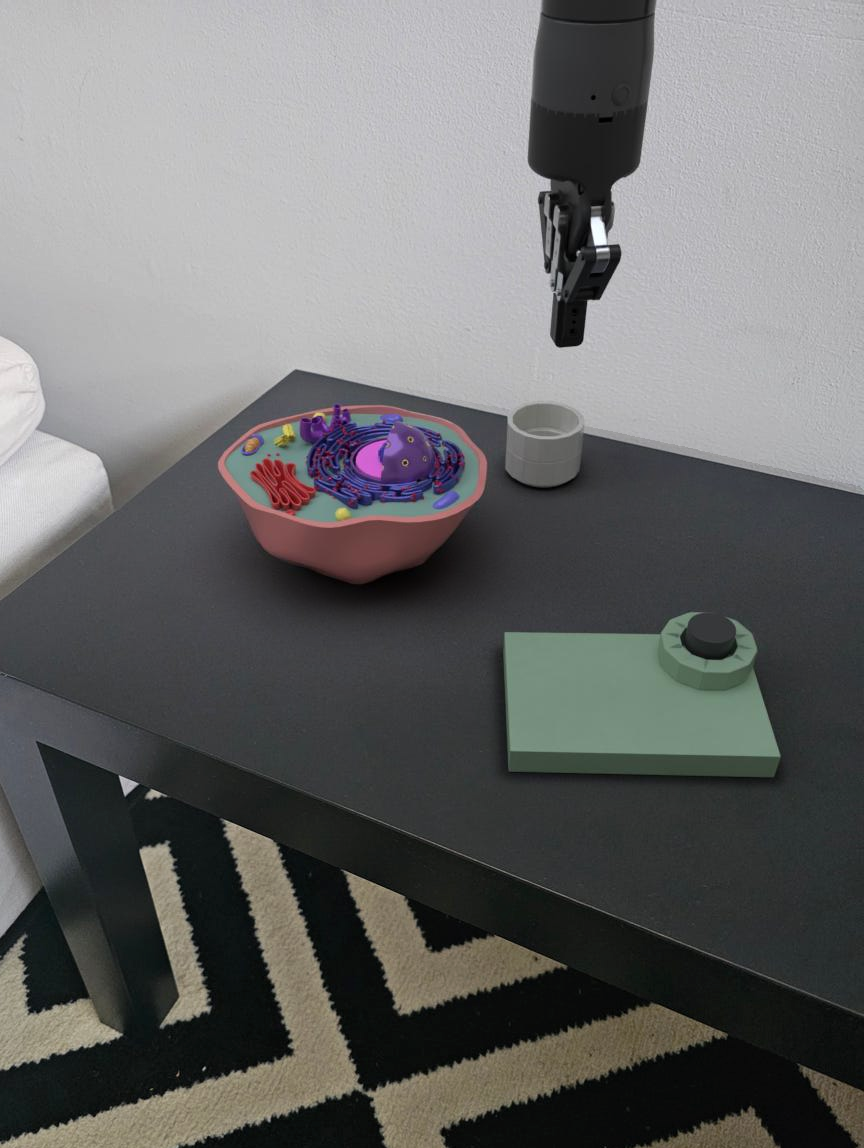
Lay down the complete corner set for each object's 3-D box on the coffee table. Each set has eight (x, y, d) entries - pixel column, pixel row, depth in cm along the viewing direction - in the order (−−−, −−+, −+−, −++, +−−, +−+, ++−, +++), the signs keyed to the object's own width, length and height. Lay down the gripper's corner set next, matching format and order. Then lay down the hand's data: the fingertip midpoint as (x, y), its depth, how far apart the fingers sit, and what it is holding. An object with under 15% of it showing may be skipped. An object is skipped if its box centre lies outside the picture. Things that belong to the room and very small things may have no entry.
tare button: (726, 630, 68) (731, 612, 67) (735, 661, 66) (740, 643, 65) (680, 630, 69) (684, 611, 68) (688, 660, 66) (692, 642, 65)
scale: (736, 651, 72) (746, 612, 69) (774, 777, 63) (787, 737, 61) (502, 648, 72) (505, 609, 70) (508, 772, 64) (511, 732, 62)
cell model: (276, 479, 90) (262, 357, 82) (504, 510, 85) (511, 384, 78) (196, 598, 78) (171, 468, 70) (457, 642, 73) (461, 507, 66)
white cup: (575, 452, 92) (580, 401, 88) (581, 491, 87) (587, 439, 84) (503, 451, 92) (506, 401, 89) (505, 491, 87) (508, 438, 84)
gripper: (509, 70, 72) (498, 311, 83) (560, 124, 62) (539, 388, 74) (614, 63, 73) (589, 303, 84) (681, 115, 63) (642, 378, 74)
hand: (566, 342), depth 79 cm, fingers closed
